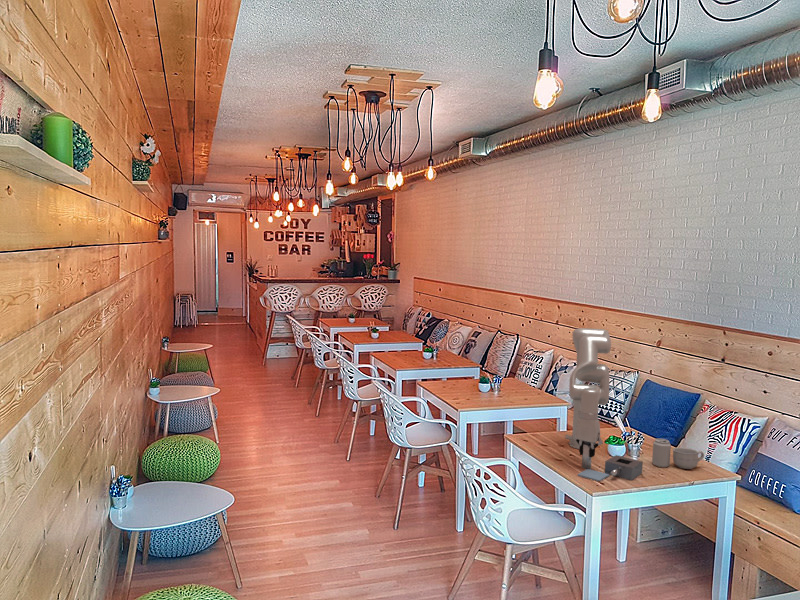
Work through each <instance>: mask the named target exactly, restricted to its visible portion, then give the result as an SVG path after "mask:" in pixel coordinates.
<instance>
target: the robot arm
mask: <svg viewBox="0 0 800 600" xmlns="http://www.w3.org/2000/svg"><path fill="white" fill-rule="evenodd" d="M572 342H573V346H574V348H575V352H576V365H575V368H574V369H573V370H572V373H570V374H571V375H570V377H569V388H568V389H569V397H570V399H571V400H573V401H572V402H573V403H572V404H573V410H572V411H573V414H572V415H573V416H572V417H573V418H572V433H571V434H572V435H570V434H565V435H564V436H565V437H564V438H565V440H569V441H568V445H570V446H569V447H571V448H574V449H577V450H579V455H580V456H582V453H583V441H586V442H590V443H591V449H590V457H591V459H592V458H593V457H595V456H596V449H597V448H598V447H599V446H601V445H603V444H604V442H603V440H602V437H601V425H600V420H599V405H601V406H604V405H607V404H608V403H609V400H610V370H609V367H608V365H607V364H604V363H599V356H598V355H599V354H609V353H610V352H611V349H612V340H611V336H610V332H609V330H607V329H604V328H603V329H602V328H590V327H589V328H588V327H585V328H584V327H580V328H579V327H578V328H575V329H573V331H572ZM577 380H578V381H580V382H585V383H586V382H587V383H596V384H585V383H584V384H583V383H576V382H577ZM597 384H598V385H597Z"/></svg>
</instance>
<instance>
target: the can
mask: <svg viewBox="0 0 800 600" xmlns="http://www.w3.org/2000/svg"><path fill="white" fill-rule="evenodd" d="M671 448H672V445H671V443H670V441H669V440H668V439H666V438H654V441H653V443H652V456H651V457H652V458H651V459H652V460H651V463H652V464H653V466H655V465H656V466H655V467H657V466H659V467H658V468H663V467H665V468H668V467H669V466H670V463H671V462H670V461H671Z"/></svg>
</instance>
